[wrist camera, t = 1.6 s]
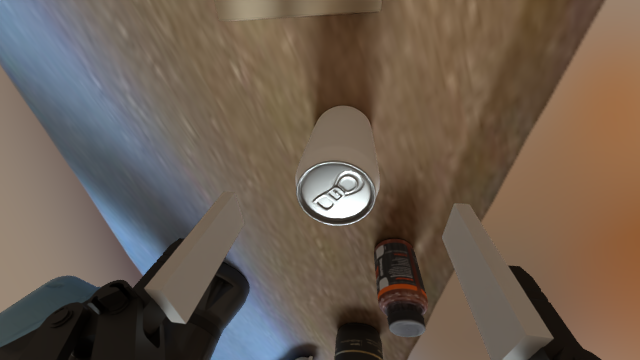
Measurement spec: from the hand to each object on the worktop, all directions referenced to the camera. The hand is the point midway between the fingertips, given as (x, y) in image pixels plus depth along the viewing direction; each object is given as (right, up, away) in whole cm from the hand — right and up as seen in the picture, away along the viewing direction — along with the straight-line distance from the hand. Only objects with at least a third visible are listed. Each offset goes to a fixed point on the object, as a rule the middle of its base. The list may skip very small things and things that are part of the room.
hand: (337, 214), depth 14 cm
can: (+2, +8, +12) cm, 14 cm away
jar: (+8, -32, +37) cm, 49 cm away
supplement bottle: (+10, -9, +21) cm, 25 cm away
